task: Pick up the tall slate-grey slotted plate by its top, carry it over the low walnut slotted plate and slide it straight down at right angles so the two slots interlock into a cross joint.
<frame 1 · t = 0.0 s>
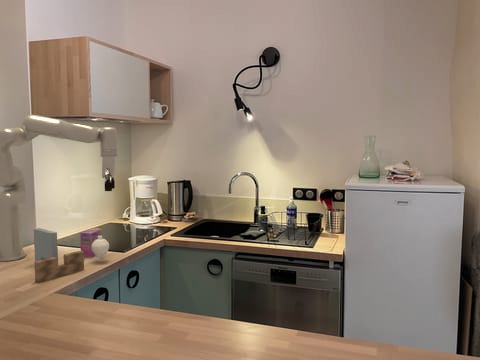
hand: (109, 189, 201), 31 cm above the countertop, tool pointing down, fingers open, 9 cm apart
spinning top: (100, 262, 191), on the countertop
box: (92, 255, 203), on the countertop
grey slotted plate: (46, 266, 183), on the countertop
walnut slotted plate: (60, 275, 172), on the countertop
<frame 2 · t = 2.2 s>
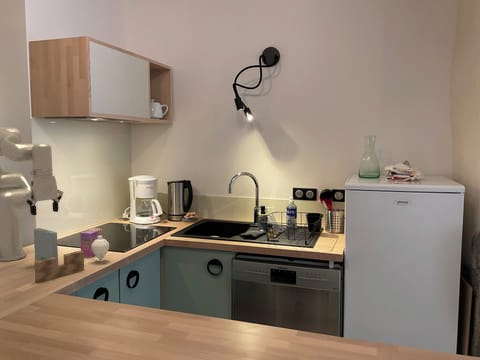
hand: (44, 213, 181), 24 cm above the countertop, tool pointing down, fingers open, 9 cm apart
nothing on the countertop moved.
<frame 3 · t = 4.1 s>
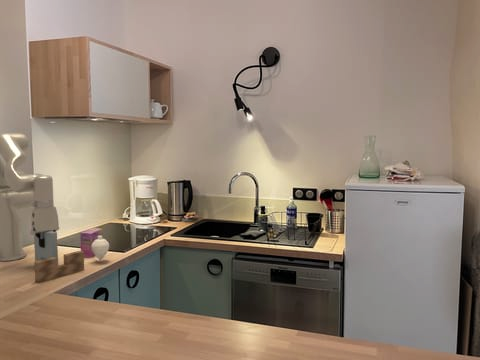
hand: (45, 246, 182), 9 cm above the countertop, tool pointing down, fingers closed on grey slotted plate, 2 cm apart
grey slotted plate: (46, 266, 183), on the countertop, touching gripper
everything else where it was.
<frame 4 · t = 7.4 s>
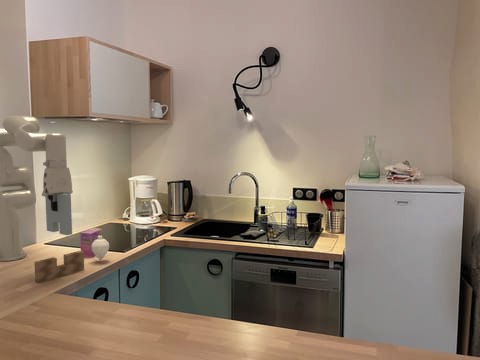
hand: (58, 209, 169), 27 cm above the countertop, tool pointing down, fingers closed on grey slotted plate, 2 cm apart
grey slotted plate: (59, 232, 170), point 18 cm above the countertop, touching gripper
everything else where it was.
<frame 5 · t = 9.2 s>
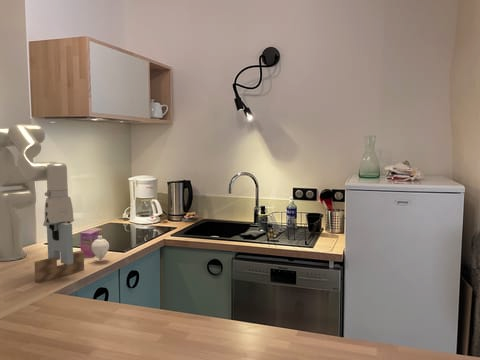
hand: (59, 238, 170), 15 cm above the countertop, tool pointing down, fingers closed on grey slotted plate, 2 cm apart
grey slotted plate: (60, 261, 171), point 6 cm above the countertop, touching gripper
everything else where it was.
when the fingers open (10 cm above the countertop, at t = 10.6 s): grey slotted plate stays where it is, on the countertop.
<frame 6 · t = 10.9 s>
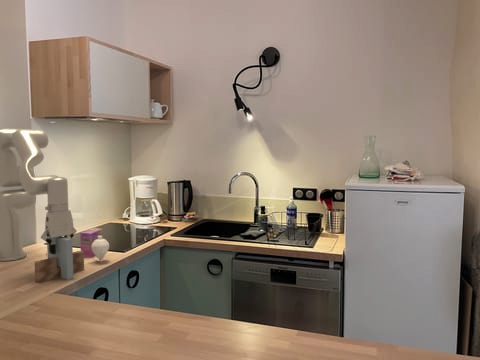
hand: (59, 251, 171), 10 cm above the countertop, tool pointing down, fingers open, 5 cm apart
grey slotted plate: (60, 275, 172), on the countertop
everything else where it was.
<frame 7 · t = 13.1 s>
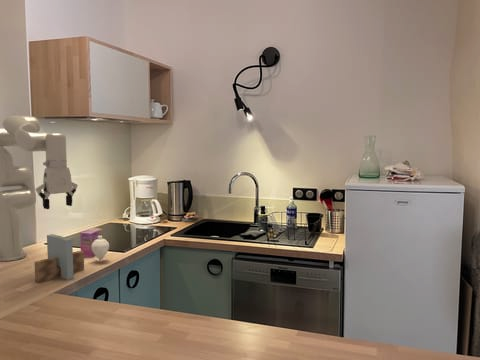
hand: (58, 207, 169), 28 cm above the countertop, tool pointing down, fingers open, 9 cm apart
nothing on the countertop moved.
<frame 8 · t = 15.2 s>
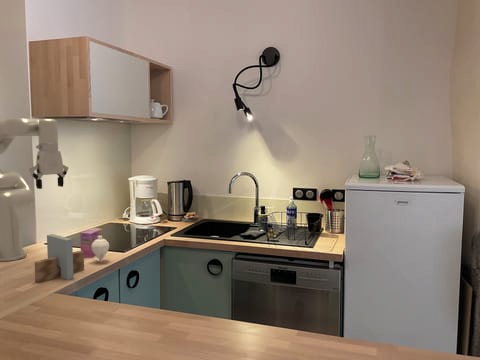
hand: (50, 187, 183), 34 cm above the countertop, tool pointing down, fingers open, 9 cm apart
nothing on the countertop moved.
at the end: grey slotted plate 0.1 cm off-centre on the walnut slotted plate, point 0.0 cm above the walnut slotted plate's base; grey slotted plate tilted 0°; the gripper is holding nothing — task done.
